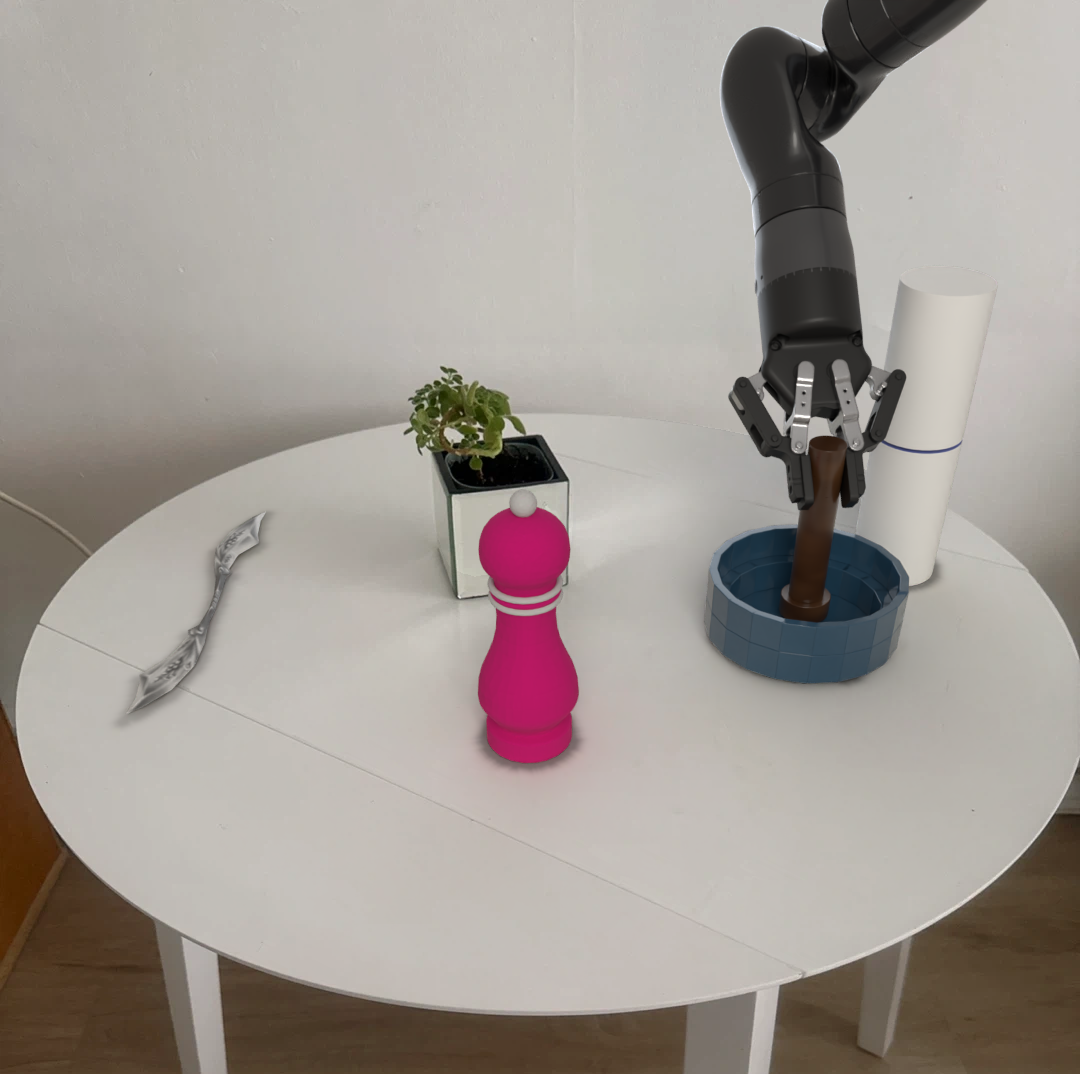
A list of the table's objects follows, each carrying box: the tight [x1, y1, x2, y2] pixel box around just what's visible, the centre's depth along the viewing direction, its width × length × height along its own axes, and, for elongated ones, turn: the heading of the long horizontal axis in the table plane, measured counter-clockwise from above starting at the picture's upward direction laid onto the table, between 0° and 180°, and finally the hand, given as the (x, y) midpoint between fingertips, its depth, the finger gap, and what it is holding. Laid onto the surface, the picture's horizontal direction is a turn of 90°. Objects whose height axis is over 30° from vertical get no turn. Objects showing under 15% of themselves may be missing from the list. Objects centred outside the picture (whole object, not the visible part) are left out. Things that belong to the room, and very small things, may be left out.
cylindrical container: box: [854, 265, 999, 587], centre depth 96 cm, size 7×7×25 cm
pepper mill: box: [477, 488, 580, 764], centre depth 79 cm, size 7×7×20 cm
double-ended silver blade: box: [125, 510, 267, 715], centre depth 100 cm, size 32×1×5 cm
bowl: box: [703, 523, 910, 685], centre depth 93 cm, size 15×15×6 cm
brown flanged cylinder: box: [779, 435, 847, 623], centre depth 91 cm, size 4×4×15 cm
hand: (828, 505), depth 87 cm, fingers closed on brown flanged cylinder, 3 cm apart
